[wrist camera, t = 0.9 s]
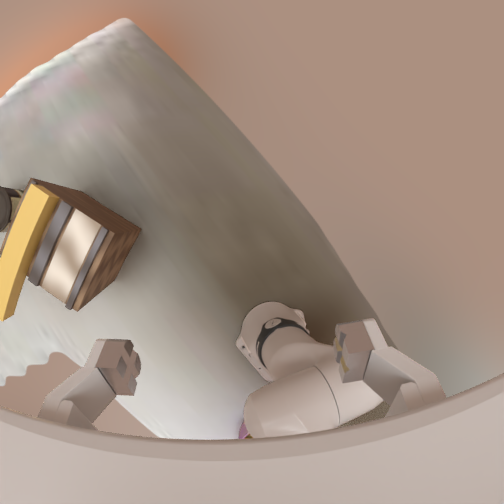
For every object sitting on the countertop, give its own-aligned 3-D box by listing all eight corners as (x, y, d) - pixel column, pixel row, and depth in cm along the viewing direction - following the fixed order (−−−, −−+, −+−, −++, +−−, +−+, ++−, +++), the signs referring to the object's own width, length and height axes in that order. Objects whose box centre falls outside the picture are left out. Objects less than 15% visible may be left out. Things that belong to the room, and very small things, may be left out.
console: (114, 280, 66) (75, 313, 40) (53, 240, 62) (-8, 251, 35) (141, 229, 66) (113, 233, 40) (78, 189, 62) (24, 174, 36)
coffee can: (4, 203, 57) (-26, 200, 44) (31, 183, 59) (2, 176, 45) (16, 238, 59) (-14, 241, 45) (43, 219, 61) (15, 219, 47)
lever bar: (13, 314, 38) (2, 321, 34) (-2, 302, 37) (-14, 307, 33) (59, 197, 38) (49, 196, 35) (42, 186, 38) (31, 183, 34)
